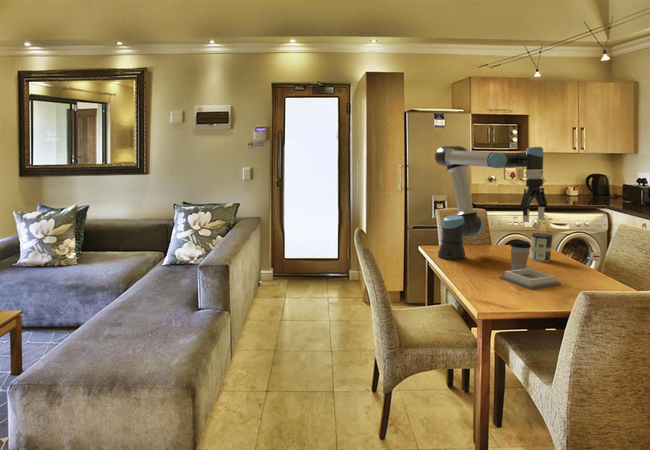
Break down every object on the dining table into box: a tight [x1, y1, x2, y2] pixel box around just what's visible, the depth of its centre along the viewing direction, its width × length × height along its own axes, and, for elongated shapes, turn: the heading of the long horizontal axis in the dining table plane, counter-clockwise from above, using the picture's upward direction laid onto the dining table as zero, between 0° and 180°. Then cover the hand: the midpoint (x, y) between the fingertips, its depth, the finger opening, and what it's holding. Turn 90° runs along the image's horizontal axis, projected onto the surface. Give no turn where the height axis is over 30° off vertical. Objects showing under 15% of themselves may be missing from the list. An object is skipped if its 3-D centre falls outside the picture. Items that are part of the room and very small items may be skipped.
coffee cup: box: [510, 239, 531, 270], centre depth 205 cm, size 9×9×15 cm
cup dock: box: [499, 267, 562, 291], centre depth 189 cm, size 18×18×4 cm
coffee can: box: [529, 232, 553, 263], centre depth 227 cm, size 10×10×14 cm
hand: (533, 221), depth 205 cm, fingers open, 13 cm apart
